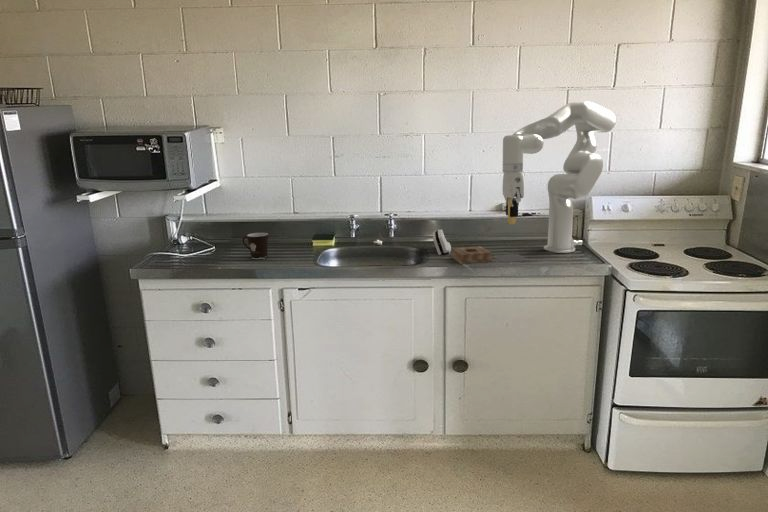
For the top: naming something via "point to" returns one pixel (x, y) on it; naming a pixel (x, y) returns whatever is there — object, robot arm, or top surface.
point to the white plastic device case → (441, 242)
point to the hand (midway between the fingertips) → (511, 215)
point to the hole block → (471, 255)
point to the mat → (509, 258)
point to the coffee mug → (257, 244)
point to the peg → (510, 219)
